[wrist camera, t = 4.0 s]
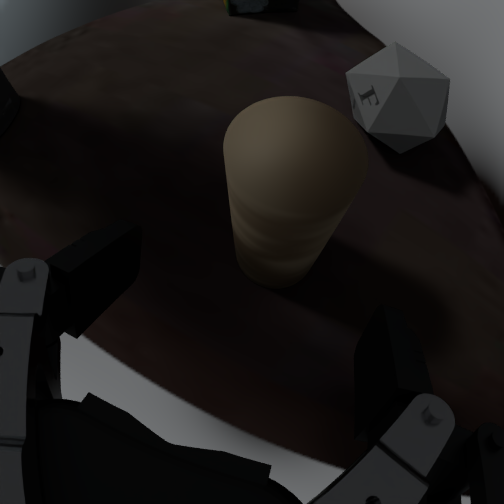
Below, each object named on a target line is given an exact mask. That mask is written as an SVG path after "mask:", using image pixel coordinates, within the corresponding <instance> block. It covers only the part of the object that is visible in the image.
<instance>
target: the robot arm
mask: <svg viewBox="0 0 504 504" xmlns="http://www.w3.org/2000/svg"><path fill="white" fill-rule="evenodd" d="M19 106H20V97H19V95H18V94H17V93H16V91H15V90H14V88H13V87H12V85H11V84H10V82H9V81H8V79H7V77H6V76H5V74H4V73H3V71H2V69H1V68H0V136H1V135H2V134H3V132H4V131H5V130H6V129H7V128H8V126H9V125H10V124H11V122H12V120H13V119H14V117H15V115H16V113H17V111H18V109H19ZM141 242H142V228H141V226H139V225H136V224H133V223H130V222H127V221H124V220H118V221H116V222H114V223H113V224H111V225H109V226H108V227H106V228H105V229H100V230H96V231H93V232H90V233H88V234H86V235H85V236H83V237H81V238H80V240H77V241H75V242H73V243H72V245H69V246H67V247H65V248H64V249H62V250H61V251H59V252H58V253H56V254H55V255H53V256H52V257H50V258H48V259H47V260H45V261H42V260H39V259H35V258H25V259H20V260H17V261H15V262H13V263H11V264H10V265H9V266H8V267H7V268H4V267H0V504H303V503H302V502H301V501H300V500H299V499H298V498H297V497H296V496H295V495H294V494H293V493H291V492H290V491H288V489H286V488H285V487H284V486H282V485H280V484H279V483H277V482H276V481H274V480H271V479H270V478H269V474H270V469H271V465H268V464H265V463H261V462H257V461H253V460H250V459H246V458H243V457H240V456H236V455H233V454H230V453H227V452H223V451H216V450H208V449H200V448H193V447H187V446H181V445H174V444H171V443H169V442H167V441H165V440H164V439H162V438H161V437H159V436H158V435H157V434H155V433H154V432H152V431H151V430H150V429H149V428H147V427H146V426H145V425H143V424H142V423H141V422H139V421H138V420H137V419H136V418H134V417H133V416H132V415H130V414H129V413H128V412H126V411H124V410H122V409H120V408H118V407H116V406H113V405H112V404H110V403H108V402H106V401H104V400H102V399H100V398H99V397H97V396H95V395H93V394H91V393H88V394H87V395H86V397H85V398H84V399H83V400H82V402H77V401H73V400H67V399H62V395H61V382H60V350H61V342H60V337H59V336H60V335H61V334H63V333H64V332H66V333H67V334H69V335H71V336H73V337H74V338H76V339H77V338H78V337H79V336H80V335H81V334H82V333H83V332H84V331H85V330H86V329H87V328H88V327H89V326H90V325H91V324H92V323H93V322H94V321H95V320H96V319H97V318H98V317H99V316H100V315H101V314H102V313H103V312H104V311H105V310H106V309H107V308H108V307H109V306H110V305H111V304H112V303H113V302H114V301H115V300H116V299H117V298H118V297H119V296H120V295H121V294H122V293H123V292H124V291H125V290H126V289H128V288H129V287H130V286H131V285H132V284H133V282H134V281H135V279H136V278H137V275H138V272H139V268H140V255H141ZM422 354H423V351H422V348H421V344H420V341H419V339H418V338H417V337H416V335H415V334H414V332H413V331H412V330H411V329H408V328H407V325H406V321H405V318H404V314H403V312H402V311H401V310H398V309H395V308H392V307H389V306H385V305H382V304H380V305H379V306H378V307H377V308H376V310H375V312H374V314H373V316H372V318H371V320H370V321H369V323H368V325H367V327H366V329H365V331H364V332H363V334H362V336H361V338H360V340H359V341H358V344H357V346H356V350H355V354H354V380H355V430H354V440H359V441H365V442H368V449H367V450H366V451H365V452H364V453H362V454H361V455H360V457H359V458H358V459H356V460H355V461H354V462H353V463H352V464H351V465H350V466H349V467H348V468H347V469H346V470H345V471H344V472H343V473H342V474H341V475H340V476H339V477H338V478H337V479H335V481H333V482H332V483H331V484H330V485H329V486H328V487H326V488H325V489H324V490H323V491H322V492H321V493H320V494H318V495H317V496H316V497H315V498H313V499H312V500H311V501H309V502H308V503H307V504H461V494H462V493H464V492H465V491H467V490H468V489H470V499H471V504H504V431H503V430H502V429H501V428H500V427H499V426H497V425H496V424H493V423H484V424H482V425H481V426H480V427H479V428H478V429H477V430H476V431H475V432H474V433H473V432H471V431H469V430H466V429H464V428H462V427H460V426H458V425H456V424H455V418H454V415H453V412H452V410H451V409H450V407H449V406H448V405H447V404H446V402H444V401H443V400H442V399H440V398H439V397H437V396H435V395H434V394H433V389H432V385H431V381H430V377H429V373H428V369H427V366H426V365H425V358H424V355H422Z"/></svg>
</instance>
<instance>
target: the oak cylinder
mask: <svg viewBox="0 0 504 504" xmlns="http://www.w3.org/2000/svg"><path fill="white" fill-rule="evenodd" d="M223 151H224V160H225V169H226V177H227V186H228V194H229V203H230V211H231V220H232V228H233V236H234V244H235V252H236V259H237V262H238V265H239V267H240V269H241V270H242V272H243V273H244V274H245V276H246V277H247V278H249V279H250V280H251V281H252V282H254V283H256V284H257V285H260V286H262V287H266V288H271V289H281V288H286V287H290V286H292V285H294V284H296V283H298V282H299V281H300V280H302V279H303V278H304V277H305V276H306V275H307V273H308V272H309V270H310V269H311V267H312V266H313V264H314V262H315V261H316V259H317V258H318V256H319V255H320V253H321V251H322V250H323V248H324V247H325V245H326V243H327V242H328V240H329V239H330V237H331V235H332V234H333V232H334V230H335V229H336V227H337V226H338V224H339V222H340V221H341V219H342V217H343V216H344V214H345V212H346V211H347V209H348V207H349V206H350V204H351V202H352V201H353V199H354V197H355V196H356V194H357V192H358V191H359V189H360V187H361V185H362V184H363V182H364V179H365V177H366V174H367V170H368V152H367V148H366V145H365V142H364V140H363V138H362V136H361V134H360V133H359V131H358V130H357V128H356V127H355V126H354V125H353V124H352V123H351V121H350V120H349V119H347V118H346V117H345V116H344V115H343V114H341V113H340V112H338V111H337V110H335V109H334V108H332V107H330V106H328V105H326V104H324V103H321V102H318V101H315V100H312V99H308V98H303V97H294V96H283V97H274V98H269V99H265V100H262V101H259V102H257V103H254V104H253V105H251V106H249V107H247V108H246V109H244V110H243V111H242V112H240V113H239V114H238V115H237V116H236V117H235V118H234V120H233V121H232V122H231V124H230V126H229V127H228V129H227V132H226V134H225V138H224V145H223Z"/></svg>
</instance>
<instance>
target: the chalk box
mask: <svg viewBox="0 0 504 504" xmlns="http://www.w3.org/2000/svg"><path fill="white" fill-rule="evenodd" d="M223 2H224V5H225V7H226V9H227V12H228V14H229V16H231V15H235V14H245V13H258V12H282V11H297V10H298V2H299V0H223Z"/></svg>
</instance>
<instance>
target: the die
mask: <svg viewBox="0 0 504 504" xmlns="http://www.w3.org/2000/svg"><path fill="white" fill-rule="evenodd" d="M346 77H347V83H348V88H349V93H350V99H351V105H352V111H353V117H354V119H355V120H356V121H357V122H358V123H359V124H360V125H361V126H362V127H363V128H364V129H365V130H366V131H367V132H368V133H369V134H371V135H372V136H374V137H376V138H377V139H379V140H380V141H382V142H383V143H385V144H386V145H388V146H389V147H391V148H392V149H394V150H395V151H396V152H398V153H399V154H401V153H403V152H405V151H407V150H410V149H412V148H414V147H416V146H418V145H420V144H422V143H424V142H426V141H428V140H430V139H432V138H435V136H436V135H437V134H438V133H439V131H440V130H441V129H442V128H443V127H444V125H445V119H446V112H447V104H448V95H449V84H450V79H449V78H448V77H446V76H445V75H444V74H442V73H441V72H440V71H438V70H437V69H436V68H434V67H433V66H431V65H430V64H429V63H427V62H426V61H424V60H423V59H421V58H420V57H418V56H417V55H415V54H414V53H412V52H410V51H409V50H408V49H406V48H404V47H403V46H401V45H400V44H398V43H396V42H394V43H392V44H390V45H389V46H387V47H385V48H384V49H382V50H381V51H379V52H377V53H376V54H374V55H373V56H371V57H369V58H368V59H366V60H365V61H363V62H362V63H360V64H359V65H357V66H355V67H354V68H352V69H351V70H349V71H348V72H346Z"/></svg>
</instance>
